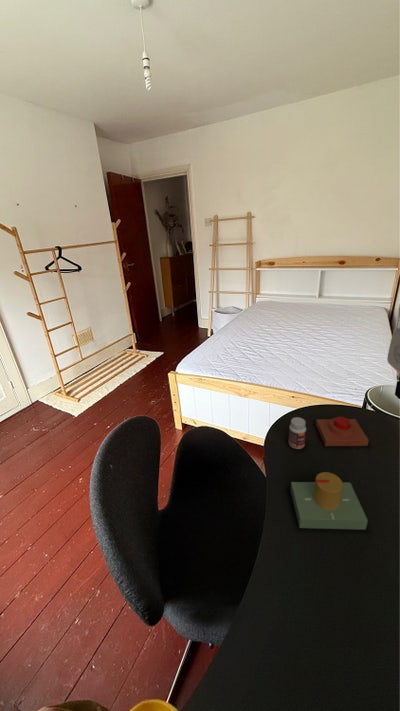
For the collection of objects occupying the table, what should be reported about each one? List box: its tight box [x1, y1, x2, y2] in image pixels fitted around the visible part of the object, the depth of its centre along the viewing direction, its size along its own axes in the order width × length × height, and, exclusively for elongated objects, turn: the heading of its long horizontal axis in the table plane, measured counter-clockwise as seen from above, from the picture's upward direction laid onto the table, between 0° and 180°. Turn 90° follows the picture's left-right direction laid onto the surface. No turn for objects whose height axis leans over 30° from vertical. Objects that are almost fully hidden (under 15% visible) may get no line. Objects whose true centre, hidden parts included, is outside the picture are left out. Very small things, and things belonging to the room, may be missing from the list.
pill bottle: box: [288, 416, 307, 450], centre depth 88 cm, size 5×5×8 cm
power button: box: [335, 416, 350, 429], centre depth 90 cm, size 4×4×2 cm
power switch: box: [315, 417, 370, 447], centre depth 91 cm, size 12×10×4 cm
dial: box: [314, 471, 343, 510], centre depth 67 cm, size 6×6×6 cm
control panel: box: [290, 481, 369, 531], centre depth 69 cm, size 14×10×3 cm
